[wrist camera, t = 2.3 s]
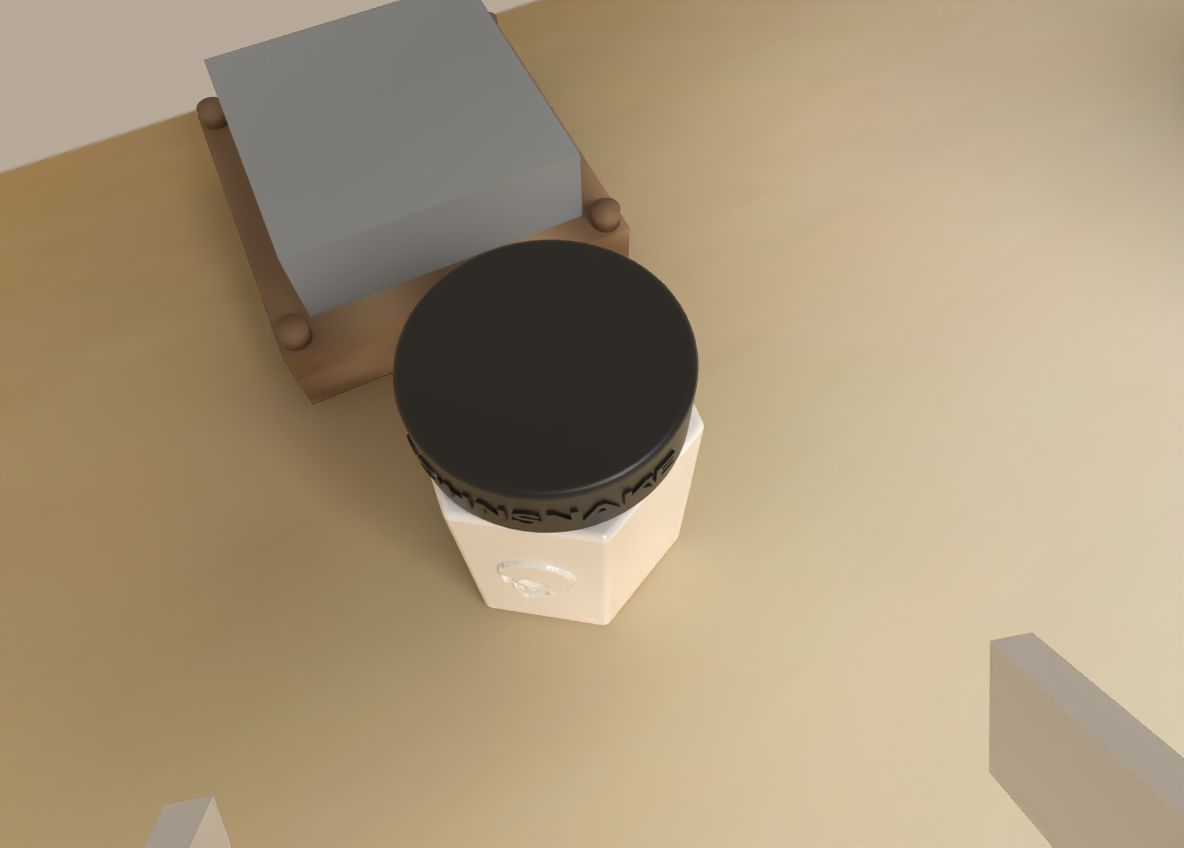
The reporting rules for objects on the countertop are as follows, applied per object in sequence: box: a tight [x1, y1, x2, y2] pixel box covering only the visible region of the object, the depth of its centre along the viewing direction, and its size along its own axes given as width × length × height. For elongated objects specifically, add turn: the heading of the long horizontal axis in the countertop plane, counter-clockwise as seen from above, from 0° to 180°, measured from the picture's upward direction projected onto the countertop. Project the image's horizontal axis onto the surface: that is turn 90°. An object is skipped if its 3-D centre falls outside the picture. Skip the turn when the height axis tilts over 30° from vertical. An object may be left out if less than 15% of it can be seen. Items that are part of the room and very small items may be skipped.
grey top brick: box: [204, 0, 582, 317], centre depth 34 cm, size 12×12×4 cm
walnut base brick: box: [196, 12, 629, 404], centre depth 37 cm, size 15×15×4 cm
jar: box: [393, 239, 704, 625], centre depth 27 cm, size 9×8×12 cm
